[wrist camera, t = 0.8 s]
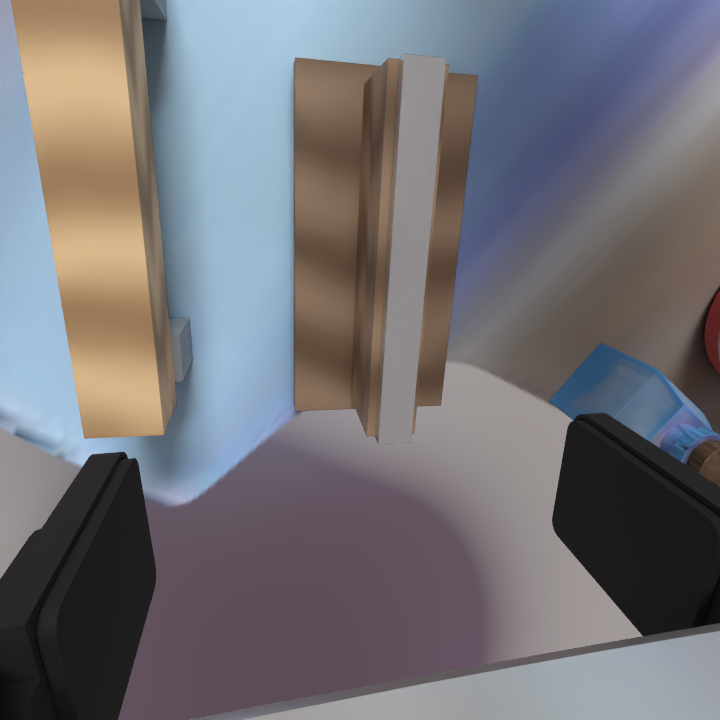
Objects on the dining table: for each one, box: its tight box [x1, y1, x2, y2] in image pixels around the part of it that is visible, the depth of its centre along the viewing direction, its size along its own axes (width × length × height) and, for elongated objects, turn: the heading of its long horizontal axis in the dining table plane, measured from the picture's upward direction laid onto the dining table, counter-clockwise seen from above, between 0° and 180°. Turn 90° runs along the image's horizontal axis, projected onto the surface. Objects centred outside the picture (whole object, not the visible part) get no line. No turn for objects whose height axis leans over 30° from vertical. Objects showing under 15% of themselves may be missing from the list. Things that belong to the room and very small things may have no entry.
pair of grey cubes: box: [140, 0, 193, 382], centre depth 27 cm, size 23×5×4 cm, turn 178°
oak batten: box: [11, 0, 177, 439], centre depth 23 cm, size 26×4×4 cm, turn 178°
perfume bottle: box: [549, 343, 720, 487], centre depth 35 cm, size 6×6×12 cm
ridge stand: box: [294, 54, 478, 444], centre depth 29 cm, size 22×11×8 cm, turn 178°
